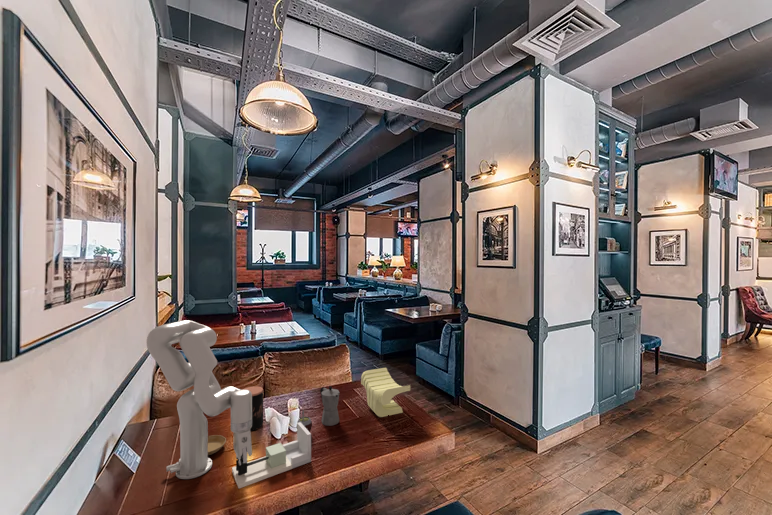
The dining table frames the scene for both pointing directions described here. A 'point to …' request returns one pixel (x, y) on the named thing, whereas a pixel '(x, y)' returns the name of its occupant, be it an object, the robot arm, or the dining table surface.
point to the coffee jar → (256, 407)
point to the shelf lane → (295, 457)
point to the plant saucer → (215, 443)
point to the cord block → (273, 456)
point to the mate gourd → (306, 422)
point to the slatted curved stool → (382, 391)
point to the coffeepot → (330, 406)
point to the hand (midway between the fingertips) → (241, 471)
